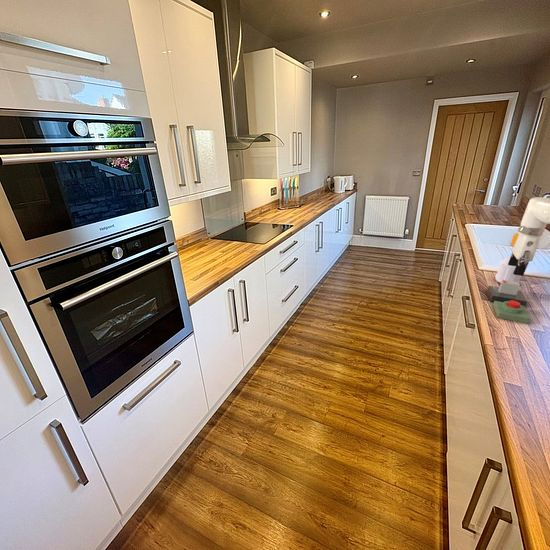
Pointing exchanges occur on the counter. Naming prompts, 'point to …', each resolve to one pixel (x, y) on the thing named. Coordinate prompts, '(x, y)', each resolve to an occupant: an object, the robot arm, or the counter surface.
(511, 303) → the button
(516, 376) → the counter surface
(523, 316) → the button box
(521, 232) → the robot arm
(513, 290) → the tap handle
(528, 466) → the counter surface
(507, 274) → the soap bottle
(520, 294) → the plate
